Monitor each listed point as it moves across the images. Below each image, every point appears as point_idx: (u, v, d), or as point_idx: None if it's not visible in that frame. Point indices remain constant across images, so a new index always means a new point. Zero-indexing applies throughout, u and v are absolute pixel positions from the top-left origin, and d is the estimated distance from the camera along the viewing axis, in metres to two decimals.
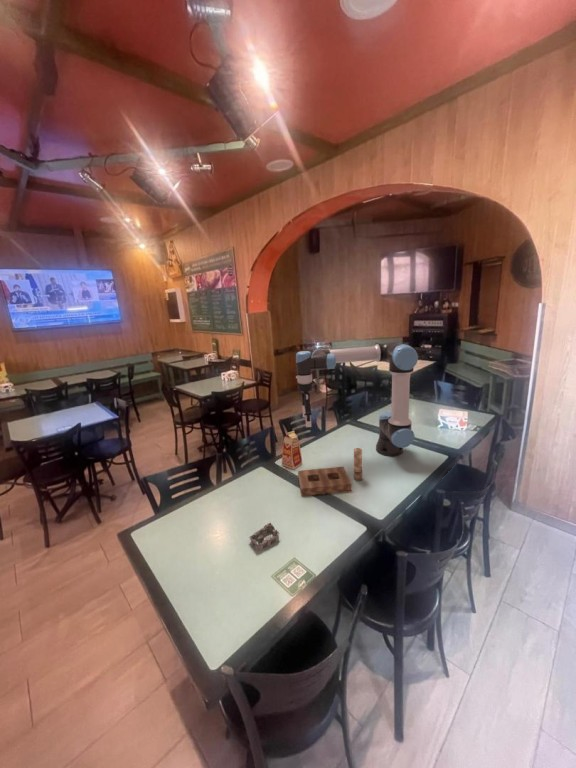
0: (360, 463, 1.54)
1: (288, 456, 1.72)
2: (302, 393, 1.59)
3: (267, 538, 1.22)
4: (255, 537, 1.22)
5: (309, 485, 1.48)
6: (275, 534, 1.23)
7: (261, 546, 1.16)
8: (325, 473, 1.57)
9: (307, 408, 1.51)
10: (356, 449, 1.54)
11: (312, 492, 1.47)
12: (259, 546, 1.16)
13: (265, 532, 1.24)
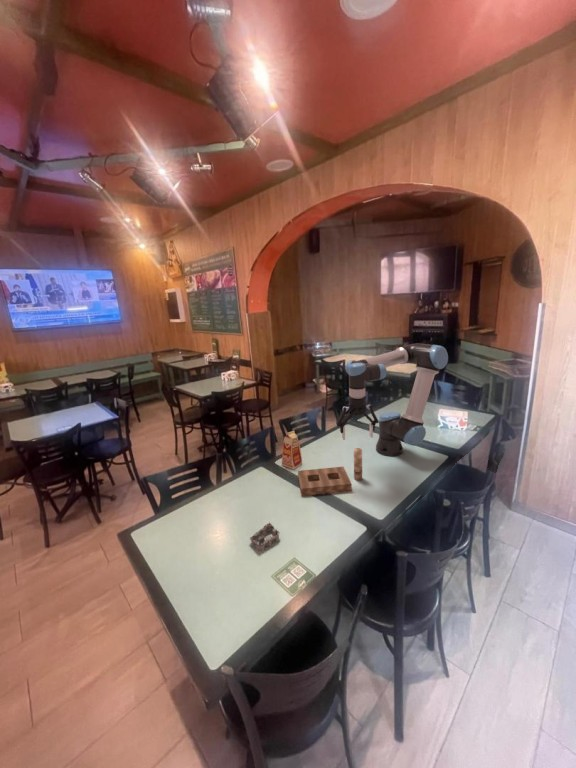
0: (360, 463, 1.54)
1: (288, 456, 1.72)
2: None
3: (267, 538, 1.22)
4: (255, 538, 1.21)
5: (309, 485, 1.48)
6: (275, 534, 1.23)
7: (262, 546, 1.16)
8: (325, 473, 1.57)
9: (338, 418, 1.49)
10: (356, 449, 1.54)
11: (312, 492, 1.47)
12: (260, 546, 1.16)
13: (265, 532, 1.24)
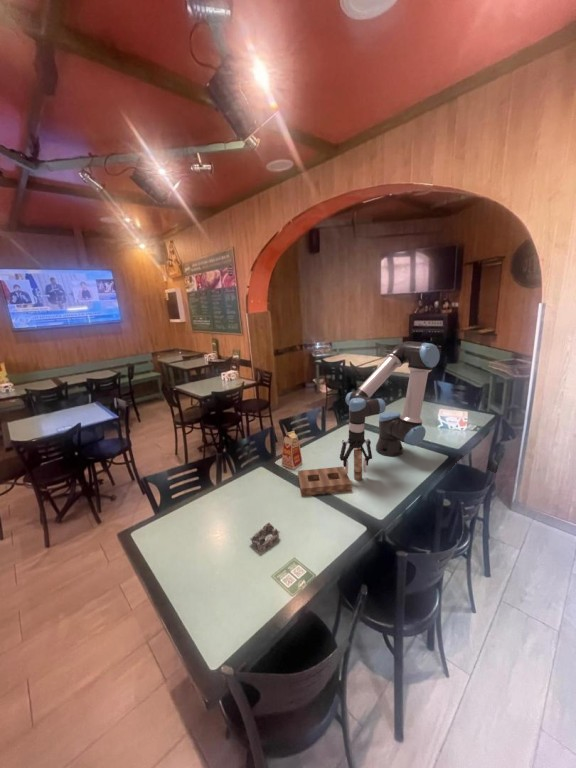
0: (360, 463, 1.54)
1: (288, 456, 1.72)
2: None
3: (267, 538, 1.22)
4: (255, 538, 1.21)
5: (309, 485, 1.48)
6: (275, 533, 1.23)
7: (264, 546, 1.16)
8: (325, 473, 1.57)
9: (341, 453, 1.54)
10: (356, 449, 1.54)
11: (312, 492, 1.47)
12: (262, 547, 1.16)
13: (265, 532, 1.24)
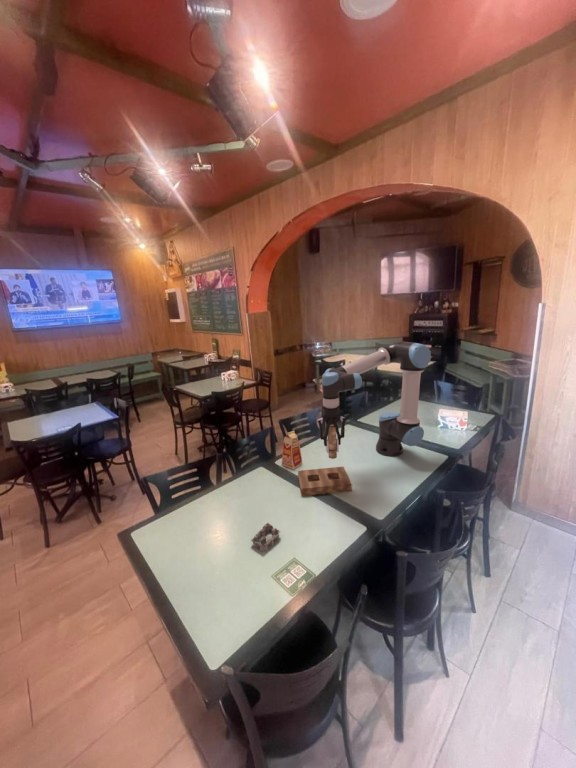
0: (334, 440, 1.48)
1: (288, 456, 1.72)
2: None
3: (268, 538, 1.22)
4: (256, 539, 1.21)
5: (309, 485, 1.48)
6: (275, 533, 1.24)
7: (266, 546, 1.16)
8: (325, 473, 1.57)
9: (319, 432, 1.48)
10: (330, 425, 1.48)
11: (312, 492, 1.47)
12: (264, 547, 1.16)
13: (264, 533, 1.23)
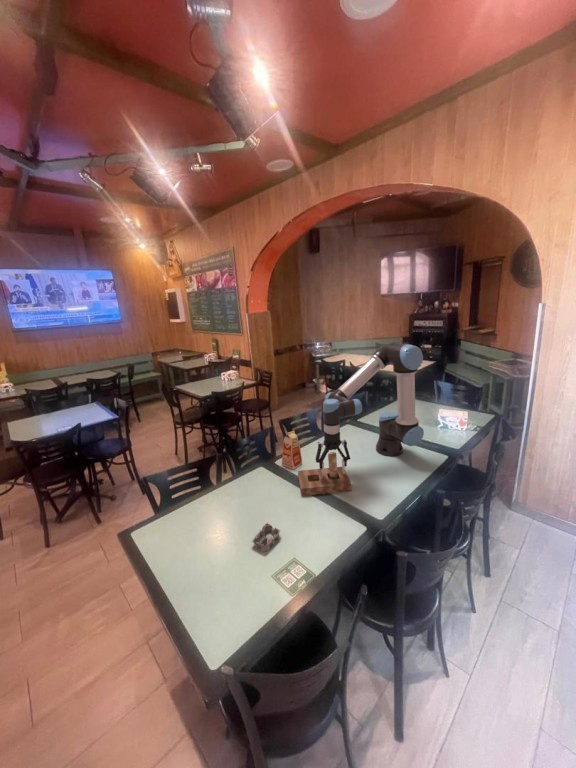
0: (335, 467, 1.51)
1: (288, 456, 1.72)
2: None
3: (268, 538, 1.22)
4: (257, 540, 1.20)
5: (309, 485, 1.48)
6: (275, 532, 1.24)
7: (268, 546, 1.16)
8: (325, 473, 1.57)
9: (316, 455, 1.51)
10: (330, 453, 1.52)
11: (312, 492, 1.47)
12: (266, 547, 1.16)
13: (264, 533, 1.23)
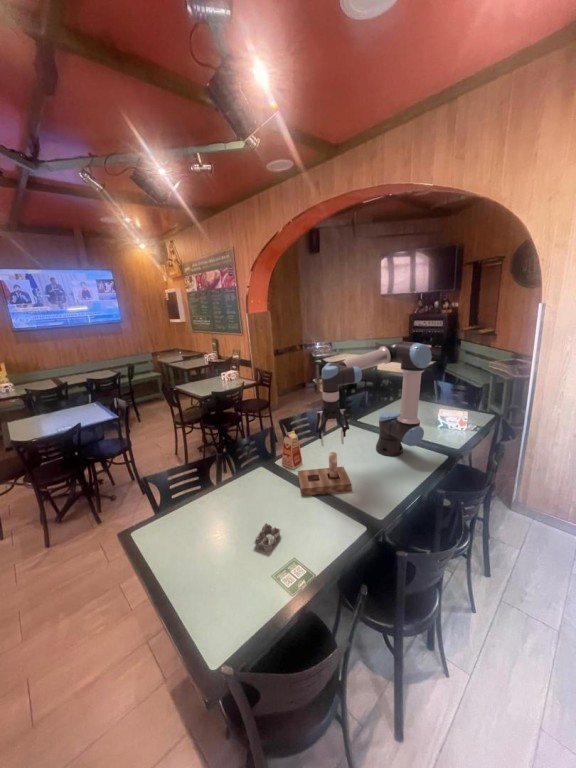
0: (335, 467, 1.51)
1: (288, 456, 1.72)
2: None
3: (269, 538, 1.22)
4: (258, 541, 1.20)
5: (309, 485, 1.48)
6: (274, 532, 1.24)
7: (271, 546, 1.16)
8: (325, 473, 1.57)
9: (315, 424, 1.47)
10: (331, 453, 1.52)
11: (312, 492, 1.47)
12: (269, 547, 1.16)
13: (264, 533, 1.23)
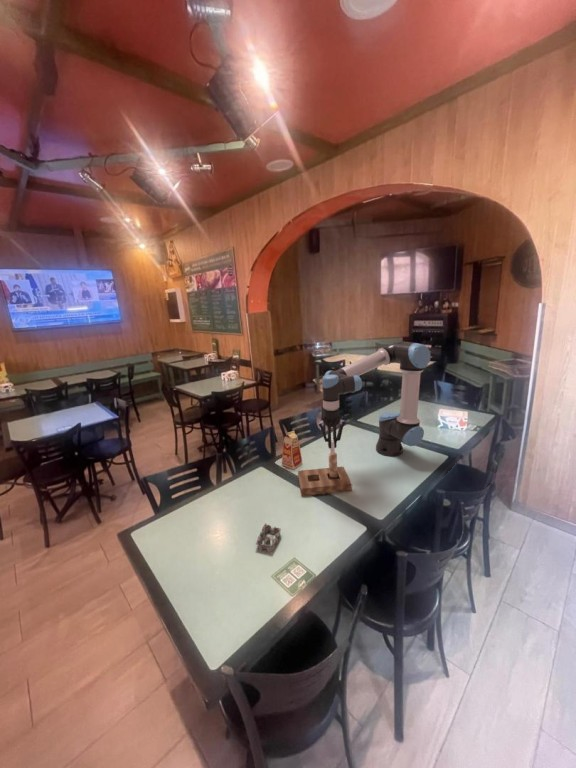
0: (335, 467, 1.51)
1: (288, 456, 1.72)
2: None
3: (269, 538, 1.22)
4: (259, 542, 1.19)
5: (309, 485, 1.48)
6: (274, 531, 1.24)
7: (273, 545, 1.16)
8: (325, 473, 1.57)
9: None
10: None
11: (312, 492, 1.47)
12: (272, 546, 1.16)
13: (264, 534, 1.23)
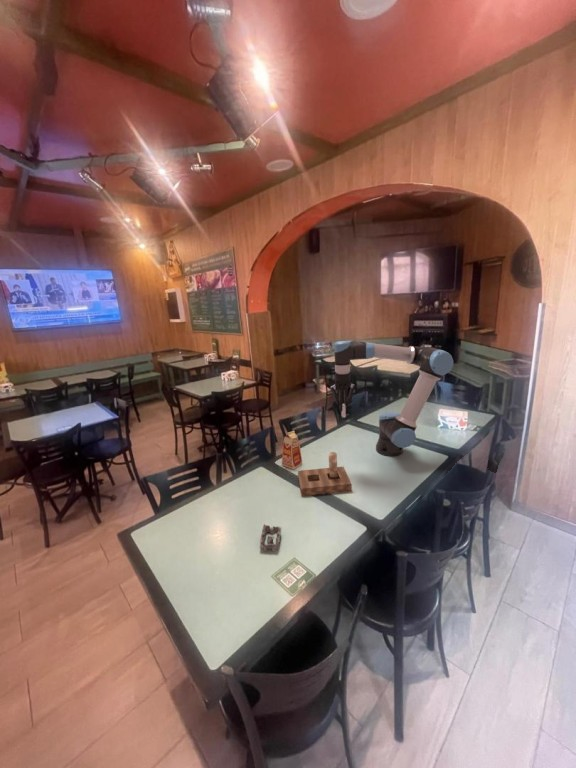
0: (335, 467, 1.51)
1: (288, 456, 1.72)
2: None
3: None
4: (262, 544, 1.18)
5: (309, 485, 1.48)
6: (274, 531, 1.25)
7: (278, 544, 1.17)
8: (325, 473, 1.57)
9: None
10: (331, 453, 1.52)
11: (312, 492, 1.47)
12: (277, 545, 1.16)
13: (265, 535, 1.22)
